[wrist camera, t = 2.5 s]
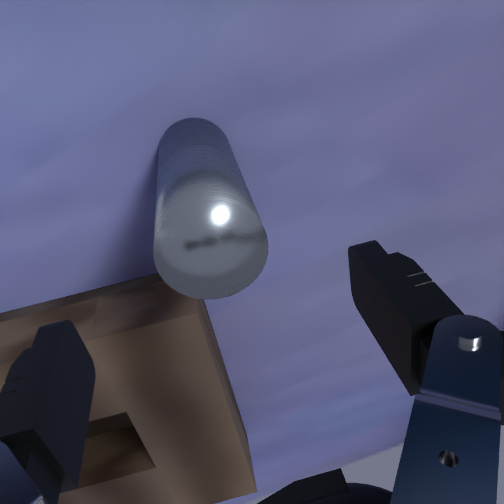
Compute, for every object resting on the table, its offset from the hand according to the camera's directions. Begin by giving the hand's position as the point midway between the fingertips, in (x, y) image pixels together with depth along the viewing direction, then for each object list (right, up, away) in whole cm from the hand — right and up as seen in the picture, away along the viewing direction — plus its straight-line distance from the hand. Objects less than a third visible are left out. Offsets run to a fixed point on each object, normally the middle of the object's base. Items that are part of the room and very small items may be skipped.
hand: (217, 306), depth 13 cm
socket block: (-10, -9, +20) cm, 24 cm away
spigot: (-2, +7, +12) cm, 14 cm away
